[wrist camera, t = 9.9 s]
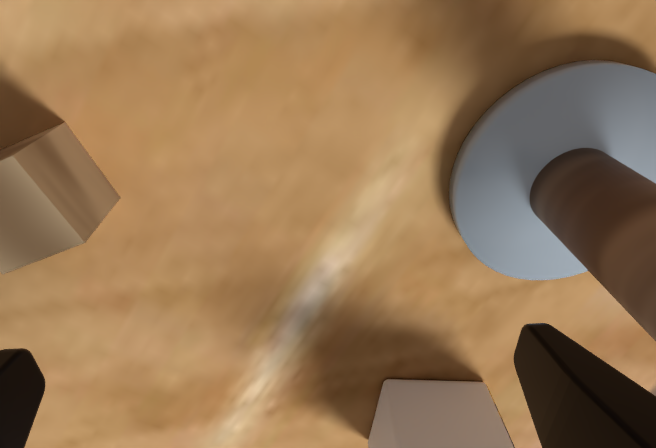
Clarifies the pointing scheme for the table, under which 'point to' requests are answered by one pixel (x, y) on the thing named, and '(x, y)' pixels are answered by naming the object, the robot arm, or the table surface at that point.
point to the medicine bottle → (437, 416)
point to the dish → (546, 158)
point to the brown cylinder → (604, 224)
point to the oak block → (49, 197)
